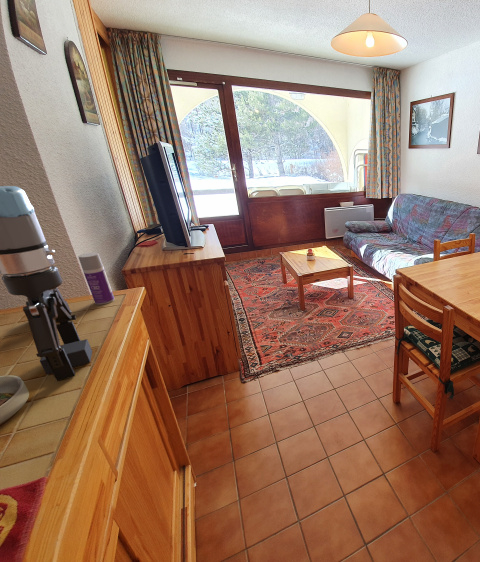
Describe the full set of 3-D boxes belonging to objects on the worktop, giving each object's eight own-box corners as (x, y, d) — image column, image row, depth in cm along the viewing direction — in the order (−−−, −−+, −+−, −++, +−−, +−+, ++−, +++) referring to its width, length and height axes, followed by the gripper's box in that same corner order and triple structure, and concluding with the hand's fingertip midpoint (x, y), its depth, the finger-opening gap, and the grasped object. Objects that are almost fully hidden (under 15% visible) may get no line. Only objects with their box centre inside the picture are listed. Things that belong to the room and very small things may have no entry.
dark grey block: (46, 374, 64) (39, 361, 63) (50, 362, 68) (44, 349, 67) (90, 362, 68) (84, 349, 67) (92, 351, 72) (87, 338, 70)
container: (95, 306, 92) (77, 258, 86) (94, 300, 95) (77, 254, 89) (115, 301, 95) (99, 255, 89) (114, 296, 98) (98, 251, 92)
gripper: (43, 286, 53) (87, 386, 61) (65, 251, 71) (97, 331, 79) (-24, 297, 49) (33, 402, 57) (18, 256, 66) (57, 341, 75)
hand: (70, 361), depth 68 cm, fingers open, 12 cm apart
